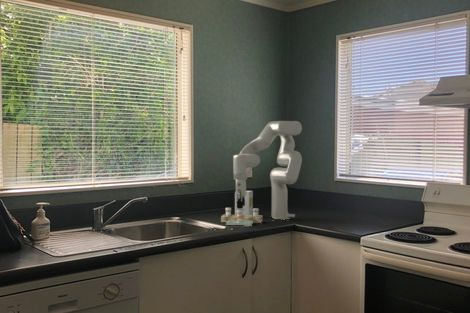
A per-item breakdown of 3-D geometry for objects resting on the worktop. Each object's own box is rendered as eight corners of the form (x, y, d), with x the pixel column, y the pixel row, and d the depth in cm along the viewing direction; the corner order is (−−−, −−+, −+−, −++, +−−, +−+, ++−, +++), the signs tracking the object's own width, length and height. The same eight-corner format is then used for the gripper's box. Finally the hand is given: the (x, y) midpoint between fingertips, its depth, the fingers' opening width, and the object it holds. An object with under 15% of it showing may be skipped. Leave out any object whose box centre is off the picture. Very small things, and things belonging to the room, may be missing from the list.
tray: (253, 224, 269) (253, 220, 269) (251, 227, 260) (251, 223, 260) (228, 223, 271) (228, 220, 271) (226, 226, 262) (226, 222, 262)
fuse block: (262, 222, 277) (262, 215, 277) (261, 224, 269) (261, 217, 269) (223, 221, 280) (223, 214, 280) (221, 223, 272) (221, 216, 272)
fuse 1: (231, 221, 277) (231, 207, 277) (230, 222, 274) (230, 208, 274) (225, 221, 278) (226, 207, 277) (225, 222, 274) (225, 208, 274)
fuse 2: (258, 222, 275) (258, 208, 275) (258, 222, 272) (258, 209, 272) (253, 221, 275) (253, 208, 275) (252, 222, 272) (252, 208, 272)
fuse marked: (242, 224, 267) (242, 209, 267) (242, 225, 263) (242, 210, 263) (237, 224, 267) (237, 209, 267) (236, 224, 264) (236, 210, 264)
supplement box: (249, 219, 286) (249, 192, 286) (234, 219, 289) (234, 191, 288) (253, 217, 296) (253, 190, 295) (238, 216, 298) (238, 190, 298)
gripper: (245, 178, 256) (245, 209, 257) (248, 175, 273) (249, 204, 274) (231, 178, 257) (232, 209, 258) (235, 175, 274) (236, 204, 275)
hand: (241, 207), depth 266 cm, fingers open, 9 cm apart
